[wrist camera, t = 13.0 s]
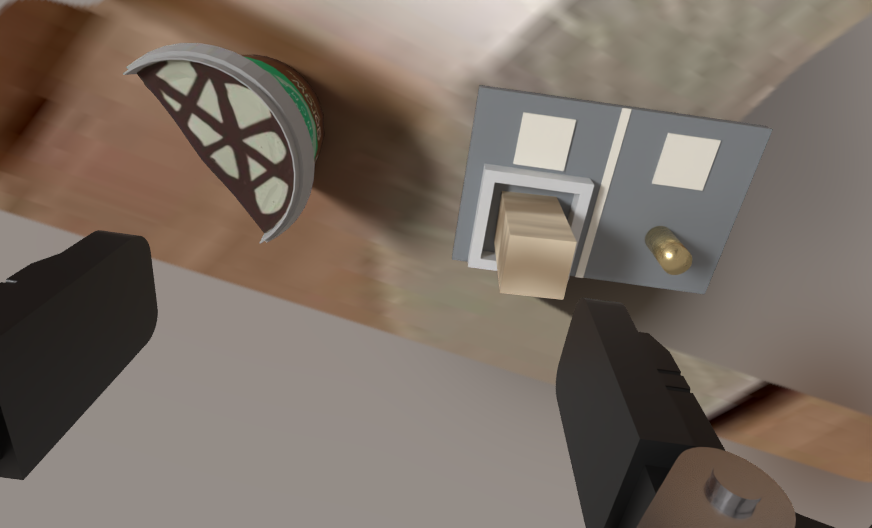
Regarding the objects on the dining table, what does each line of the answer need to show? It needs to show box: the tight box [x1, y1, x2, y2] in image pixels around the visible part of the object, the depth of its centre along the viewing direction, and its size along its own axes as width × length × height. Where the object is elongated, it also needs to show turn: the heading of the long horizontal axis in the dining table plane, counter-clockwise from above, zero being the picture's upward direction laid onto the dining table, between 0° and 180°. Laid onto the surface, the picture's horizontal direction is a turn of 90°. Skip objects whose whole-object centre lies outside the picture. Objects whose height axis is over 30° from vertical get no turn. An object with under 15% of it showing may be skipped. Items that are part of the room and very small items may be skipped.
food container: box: [123, 43, 324, 244], centre depth 34 cm, size 12×6×10 cm, turn 31°
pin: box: [645, 226, 692, 275], centre depth 39 cm, size 2×2×4 cm
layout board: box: [452, 85, 773, 294], centre depth 39 cm, size 13×20×2 cm, turn 83°
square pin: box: [494, 191, 577, 300], centre depth 37 cm, size 4×4×8 cm
